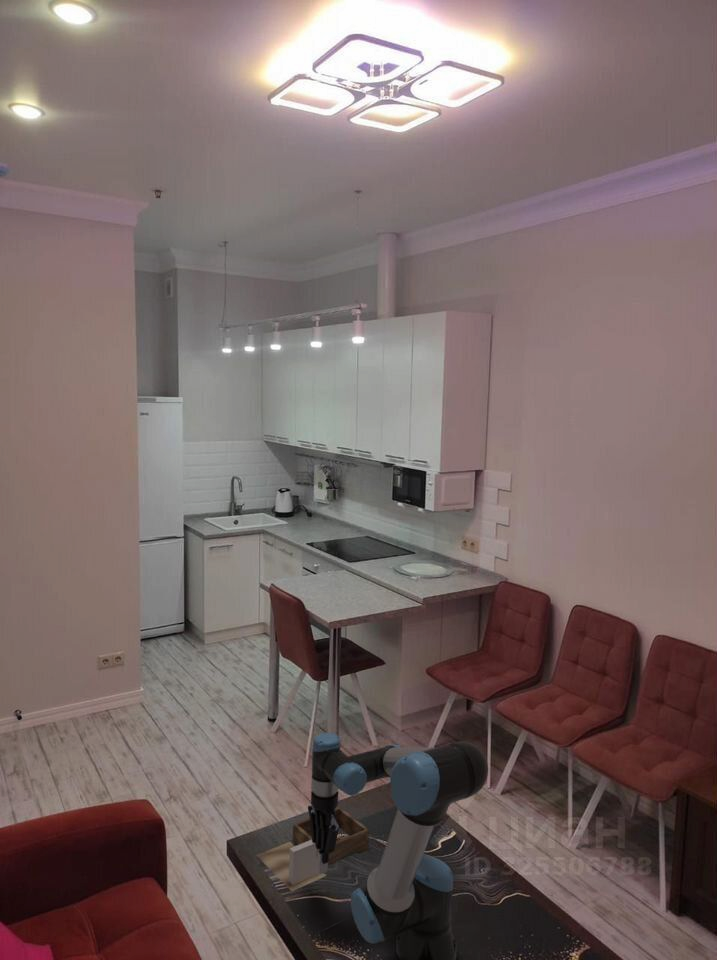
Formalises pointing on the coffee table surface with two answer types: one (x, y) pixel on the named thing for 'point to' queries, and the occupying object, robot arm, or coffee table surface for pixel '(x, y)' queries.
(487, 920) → the coffee table surface
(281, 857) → the plate
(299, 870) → the block
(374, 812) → the coffee table surface
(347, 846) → the figurine crate
